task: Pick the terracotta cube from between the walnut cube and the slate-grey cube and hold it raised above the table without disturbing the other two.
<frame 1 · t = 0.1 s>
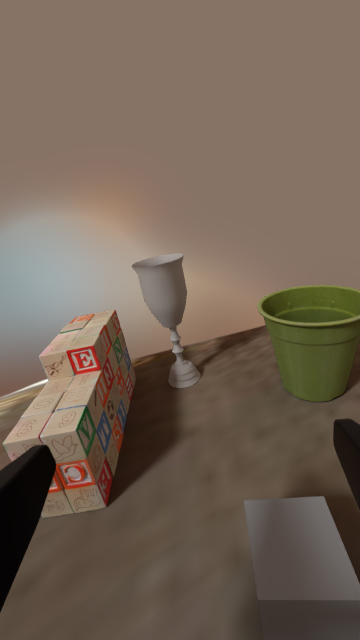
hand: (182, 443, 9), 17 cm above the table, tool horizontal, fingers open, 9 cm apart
stack of blocks: (103, 430, 35), on the table
plant pot: (314, 386, 35), on the table
chalice: (184, 378, 42), on the table
slate cube: (297, 590, 17), on the table
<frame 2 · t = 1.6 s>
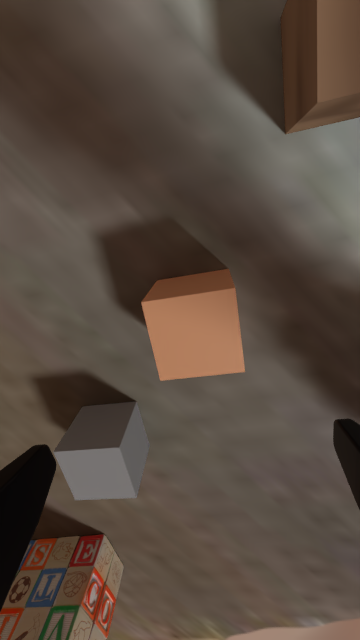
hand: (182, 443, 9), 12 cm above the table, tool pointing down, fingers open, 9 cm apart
stack of blocks: (38, 553, 34), on the table
terracotta cube: (197, 308, 20), on the table
walnut cube: (332, 67, 14), on the table
slate cube: (116, 425, 25), on the table
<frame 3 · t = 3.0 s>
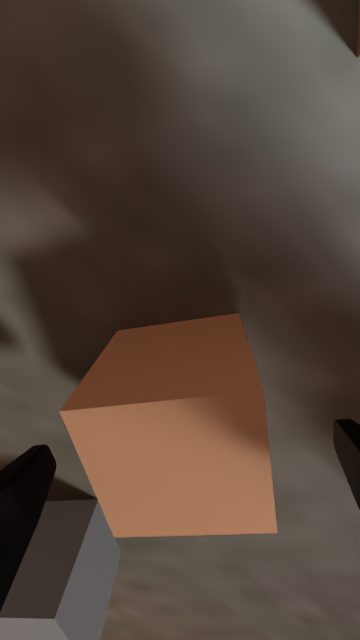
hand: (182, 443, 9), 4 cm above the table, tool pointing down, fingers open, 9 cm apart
terracotta cube: (187, 373, 12), on the table
slate cube: (72, 527, 17), on the table
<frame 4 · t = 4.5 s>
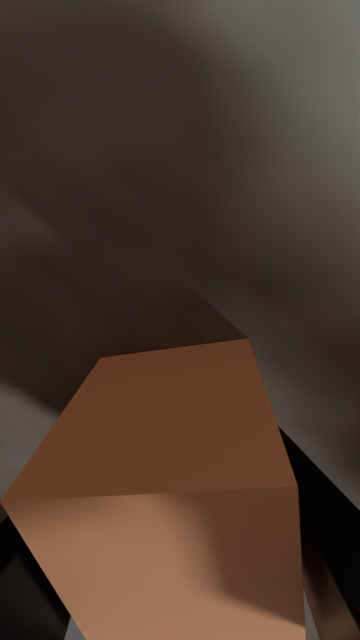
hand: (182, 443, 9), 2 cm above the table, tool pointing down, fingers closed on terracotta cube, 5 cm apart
terracotta cube: (185, 408, 10), on the table, touching gripper
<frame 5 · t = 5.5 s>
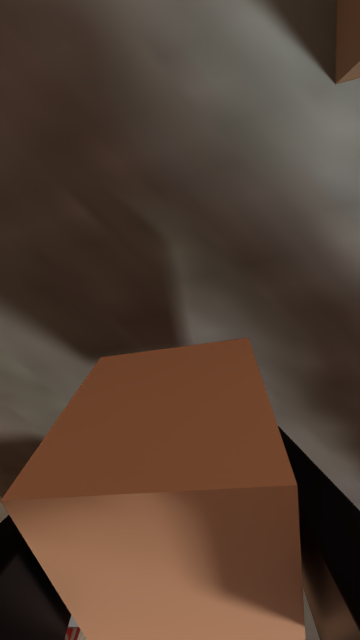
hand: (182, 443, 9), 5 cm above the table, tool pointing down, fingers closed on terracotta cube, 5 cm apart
stack of blocks: (4, 633, 28), on the table
terracotta cube: (185, 408, 10), point 4 cm above the table, touching gripper
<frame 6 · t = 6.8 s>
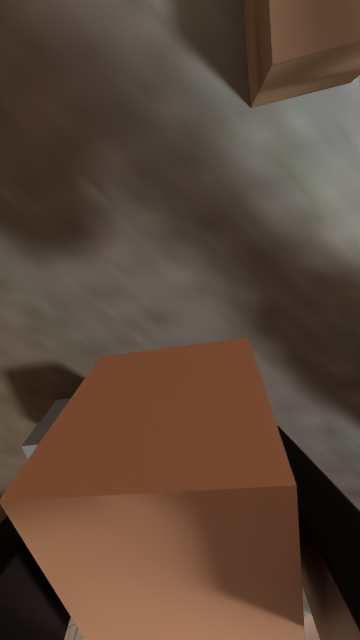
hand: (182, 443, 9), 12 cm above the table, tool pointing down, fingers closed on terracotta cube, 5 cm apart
terracotta cube: (184, 408, 10), point 10 cm above the table, touching gripper
walnut cube: (297, 35, 14), on the table
slate cube: (92, 419, 24), on the table
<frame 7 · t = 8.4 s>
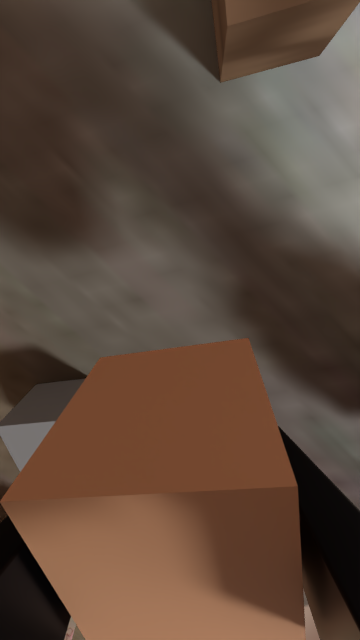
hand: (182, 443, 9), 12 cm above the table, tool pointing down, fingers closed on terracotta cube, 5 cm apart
terracotta cube: (185, 408, 10), point 10 cm above the table, touching gripper
walnut cube: (264, 6, 13), on the table
slate cube: (73, 404, 24), on the table
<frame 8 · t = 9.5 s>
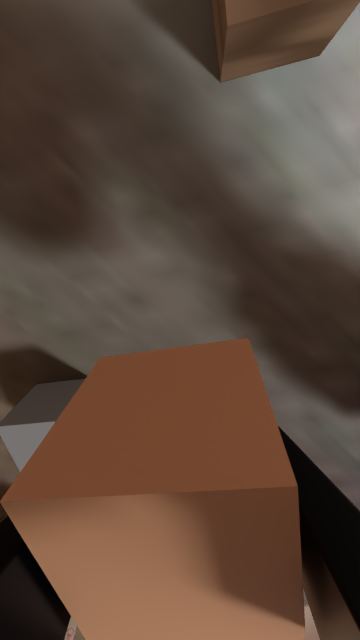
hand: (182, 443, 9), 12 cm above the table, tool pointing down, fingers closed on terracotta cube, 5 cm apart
terracotta cube: (185, 408, 10), point 10 cm above the table, touching gripper
walnut cube: (264, 6, 13), on the table
slate cube: (73, 404, 24), on the table
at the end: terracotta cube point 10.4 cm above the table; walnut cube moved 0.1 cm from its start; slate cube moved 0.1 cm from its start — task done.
